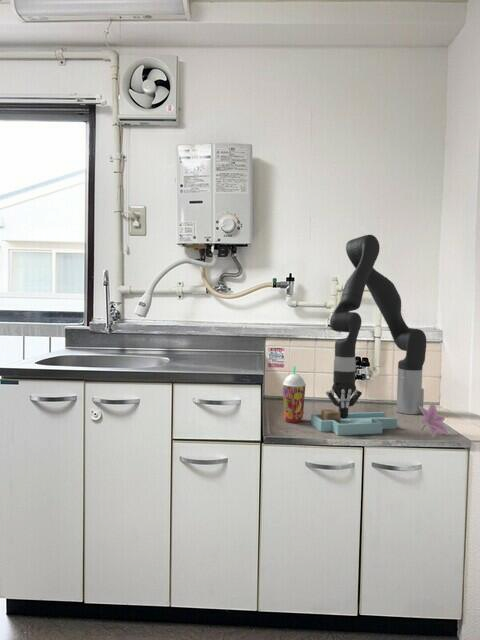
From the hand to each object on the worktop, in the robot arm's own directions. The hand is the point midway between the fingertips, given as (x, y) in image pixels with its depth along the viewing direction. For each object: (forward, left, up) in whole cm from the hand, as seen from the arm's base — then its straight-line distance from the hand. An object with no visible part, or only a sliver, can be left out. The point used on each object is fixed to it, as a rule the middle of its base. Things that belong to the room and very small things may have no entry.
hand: (343, 417), depth 184 cm
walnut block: (+5, -1, -1) cm, 5 cm away
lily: (-27, +13, -3) cm, 30 cm away
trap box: (-4, +2, -3) cm, 6 cm away
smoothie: (+15, -10, -3) cm, 18 cm away
